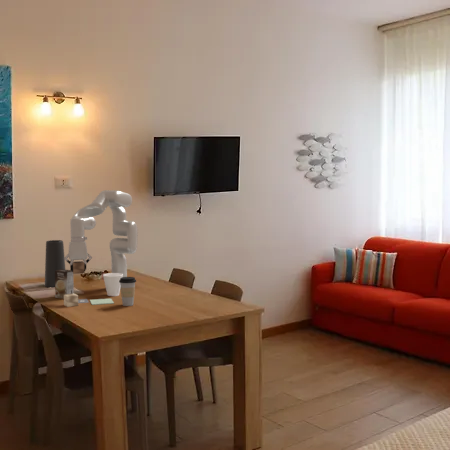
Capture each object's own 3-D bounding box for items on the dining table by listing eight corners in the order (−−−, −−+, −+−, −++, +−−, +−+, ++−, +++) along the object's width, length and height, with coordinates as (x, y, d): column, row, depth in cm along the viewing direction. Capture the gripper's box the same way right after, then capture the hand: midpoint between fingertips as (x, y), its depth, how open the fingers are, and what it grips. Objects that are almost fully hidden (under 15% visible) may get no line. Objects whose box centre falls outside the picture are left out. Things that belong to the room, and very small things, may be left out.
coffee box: (54, 297, 353) (54, 270, 352) (62, 295, 359) (61, 269, 357) (67, 299, 349) (66, 271, 348) (74, 297, 355) (73, 270, 354)
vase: (71, 284, 393) (70, 240, 390) (54, 288, 382) (53, 242, 379) (56, 282, 400) (55, 239, 398) (40, 286, 389) (38, 241, 386)
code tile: (87, 299, 349) (87, 298, 349) (88, 302, 340) (88, 302, 340) (69, 300, 346) (69, 300, 346) (70, 304, 337) (70, 303, 337)
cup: (99, 296, 358) (98, 275, 357) (111, 292, 369) (110, 272, 368) (115, 297, 353) (115, 276, 352) (127, 294, 364) (127, 273, 363)
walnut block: (83, 271, 345) (83, 261, 345) (84, 273, 340) (84, 262, 339) (72, 272, 344) (72, 261, 343) (73, 273, 338) (73, 263, 337)
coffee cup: (122, 307, 329) (122, 280, 327) (117, 304, 337) (116, 277, 336) (139, 305, 333) (138, 278, 332) (133, 302, 341) (133, 276, 340)
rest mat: (111, 299, 349) (111, 298, 349) (114, 303, 337) (114, 302, 337) (89, 300, 345) (89, 299, 345) (92, 305, 334) (92, 304, 334)
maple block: (74, 304, 337) (74, 293, 337) (78, 306, 332) (78, 295, 332) (63, 305, 334) (63, 294, 333) (67, 307, 329) (67, 296, 328)
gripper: (92, 238, 346) (93, 269, 348) (61, 239, 341) (62, 271, 342) (94, 239, 339) (94, 271, 341) (62, 240, 334) (63, 273, 335)
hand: (78, 271), depth 342 cm, fingers closed on walnut block, 6 cm apart
